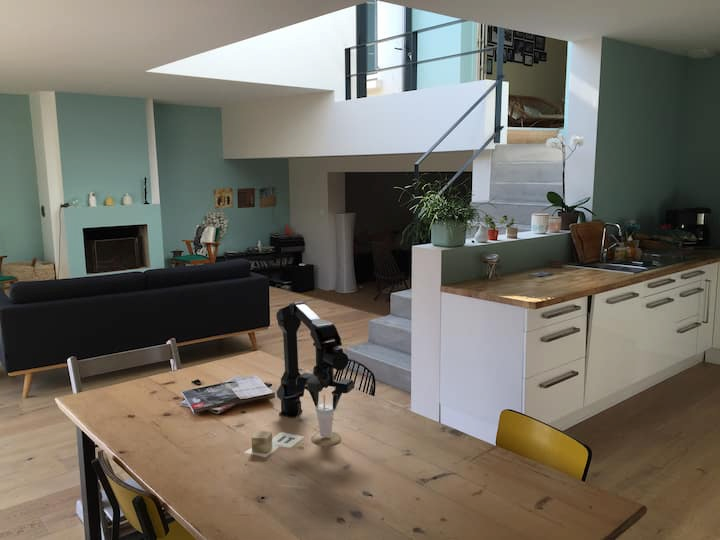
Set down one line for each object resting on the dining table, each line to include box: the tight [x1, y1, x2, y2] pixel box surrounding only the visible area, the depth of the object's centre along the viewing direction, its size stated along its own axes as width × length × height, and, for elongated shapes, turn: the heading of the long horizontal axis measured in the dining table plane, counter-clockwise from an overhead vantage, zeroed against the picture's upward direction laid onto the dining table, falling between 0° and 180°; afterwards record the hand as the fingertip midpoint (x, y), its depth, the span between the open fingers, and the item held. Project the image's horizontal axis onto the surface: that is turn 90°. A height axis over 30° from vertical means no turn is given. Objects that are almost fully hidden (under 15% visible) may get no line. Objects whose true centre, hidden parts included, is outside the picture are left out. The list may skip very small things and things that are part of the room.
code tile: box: [272, 431, 305, 449], centre depth 197 cm, size 9×9×1 cm
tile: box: [244, 444, 280, 458], centre depth 190 cm, size 8×8×1 cm
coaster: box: [310, 431, 342, 447], centre depth 198 cm, size 10×10×1 cm
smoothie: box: [315, 393, 336, 437], centre depth 196 cm, size 6×6×14 cm
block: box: [251, 430, 273, 454], centre depth 190 cm, size 5×5×5 cm
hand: (325, 407), depth 196 cm, fingers closed on smoothie, 6 cm apart
